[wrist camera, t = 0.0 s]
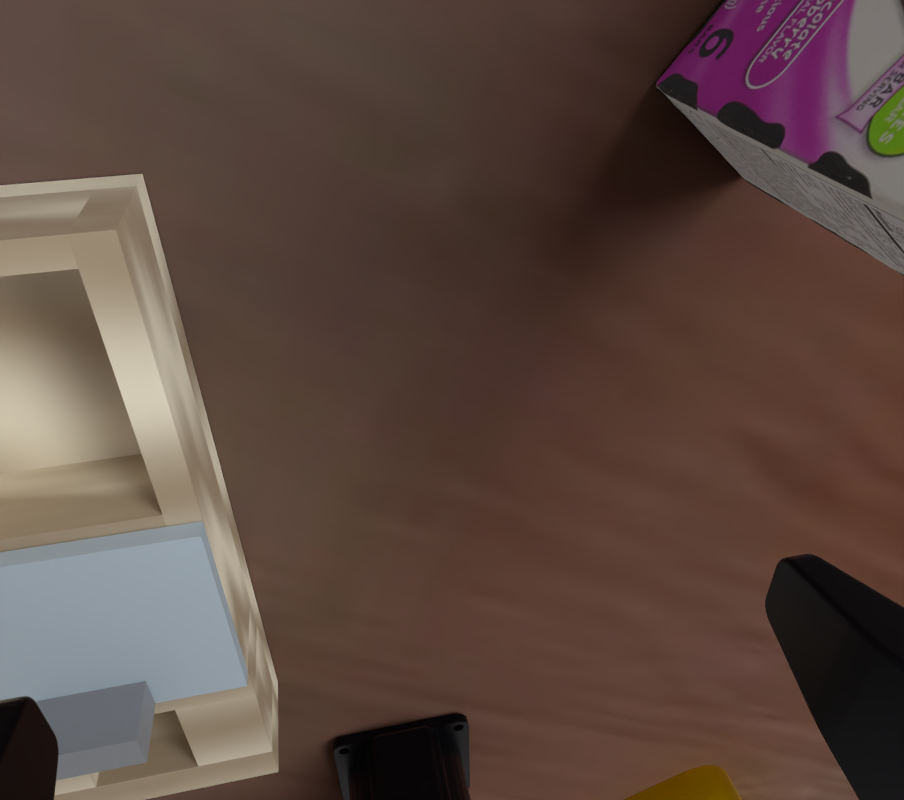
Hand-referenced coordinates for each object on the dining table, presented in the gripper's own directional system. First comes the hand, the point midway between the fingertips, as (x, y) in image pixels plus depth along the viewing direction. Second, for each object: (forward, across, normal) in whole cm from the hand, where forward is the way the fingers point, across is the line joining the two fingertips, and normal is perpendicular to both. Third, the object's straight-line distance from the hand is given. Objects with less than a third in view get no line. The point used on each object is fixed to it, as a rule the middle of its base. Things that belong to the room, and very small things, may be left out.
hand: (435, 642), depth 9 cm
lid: (+11, +9, +10) cm, 18 cm away
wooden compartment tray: (+15, +10, +9) cm, 20 cm away
